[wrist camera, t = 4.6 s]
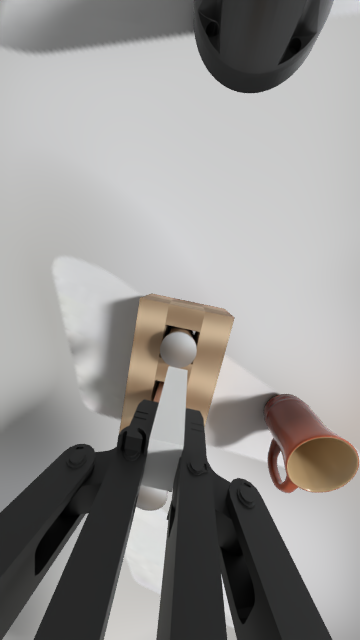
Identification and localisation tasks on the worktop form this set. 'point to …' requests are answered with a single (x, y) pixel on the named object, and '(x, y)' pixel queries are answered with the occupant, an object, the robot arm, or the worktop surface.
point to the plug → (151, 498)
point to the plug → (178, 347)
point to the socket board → (152, 368)
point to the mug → (306, 448)
